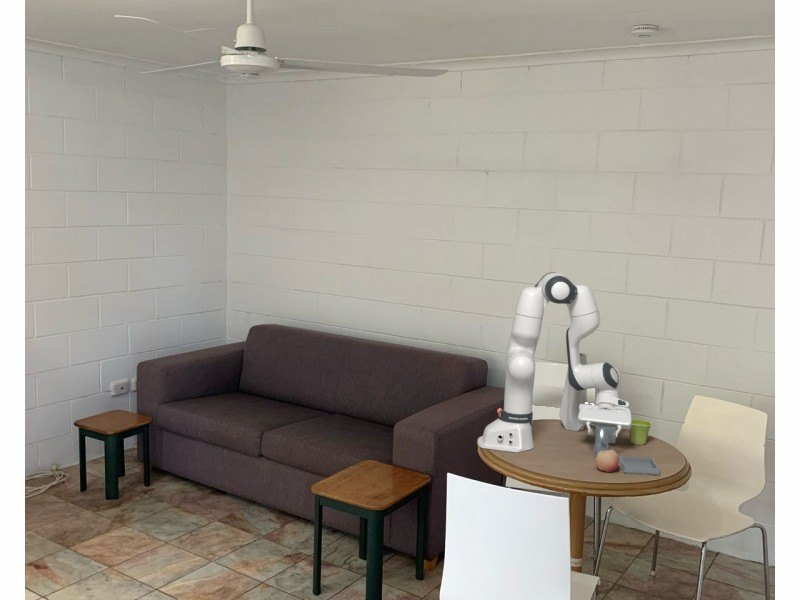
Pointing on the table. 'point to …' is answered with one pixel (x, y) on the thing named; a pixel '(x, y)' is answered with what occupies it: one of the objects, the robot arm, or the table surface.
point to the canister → (601, 439)
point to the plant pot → (639, 431)
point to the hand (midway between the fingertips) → (602, 435)
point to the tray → (638, 465)
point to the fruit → (607, 460)
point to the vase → (572, 403)
